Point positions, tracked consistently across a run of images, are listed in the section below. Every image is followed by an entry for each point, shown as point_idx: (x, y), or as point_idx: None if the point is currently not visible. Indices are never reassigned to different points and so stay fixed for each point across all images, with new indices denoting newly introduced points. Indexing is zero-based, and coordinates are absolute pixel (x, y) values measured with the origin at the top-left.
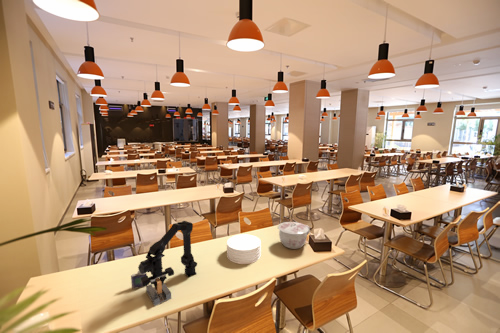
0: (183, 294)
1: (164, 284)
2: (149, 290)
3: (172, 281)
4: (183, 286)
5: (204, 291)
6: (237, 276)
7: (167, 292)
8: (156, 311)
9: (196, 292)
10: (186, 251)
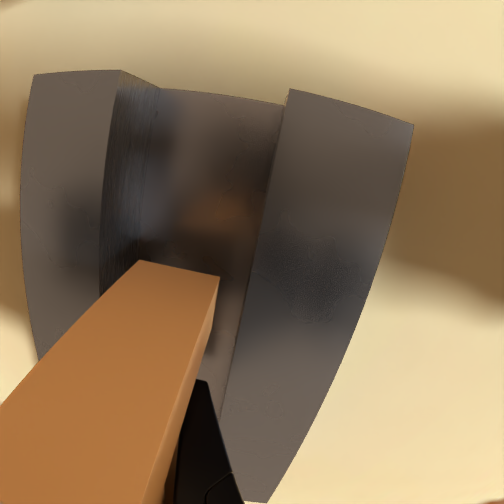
0: (374, 462)
1: (336, 338)
2: (31, 262)
3: (499, 194)
4: (472, 381)
5: (453, 485)
6: None
7: (238, 484)
8: None
9: (431, 478)
10: None
